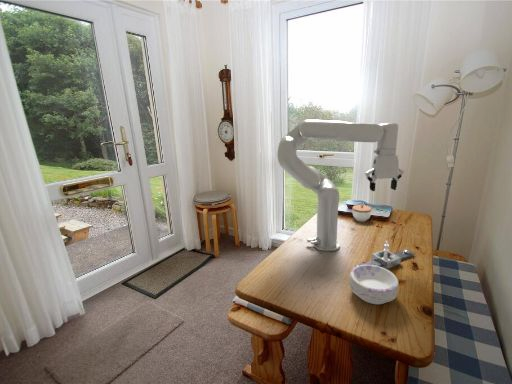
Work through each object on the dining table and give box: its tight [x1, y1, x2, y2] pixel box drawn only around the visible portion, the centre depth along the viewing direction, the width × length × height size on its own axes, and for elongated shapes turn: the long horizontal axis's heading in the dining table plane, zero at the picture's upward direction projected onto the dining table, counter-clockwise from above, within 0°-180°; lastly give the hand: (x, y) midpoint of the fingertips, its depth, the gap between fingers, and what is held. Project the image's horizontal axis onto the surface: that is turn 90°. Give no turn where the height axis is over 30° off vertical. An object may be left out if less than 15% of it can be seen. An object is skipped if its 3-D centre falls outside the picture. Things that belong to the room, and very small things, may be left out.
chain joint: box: [354, 248, 416, 270], centre depth 110 cm, size 30×8×3 cm, turn 113°
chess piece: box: [382, 240, 390, 261], centre depth 109 cm, size 5×5×10 cm
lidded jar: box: [352, 204, 373, 223], centre depth 155 cm, size 11×11×9 cm
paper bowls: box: [349, 265, 400, 305], centre depth 89 cm, size 15×15×8 cm
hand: (382, 189), depth 116 cm, fingers open, 9 cm apart
